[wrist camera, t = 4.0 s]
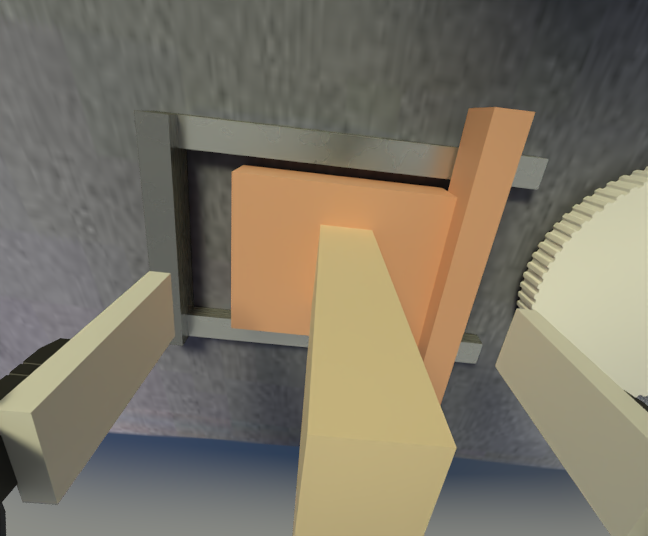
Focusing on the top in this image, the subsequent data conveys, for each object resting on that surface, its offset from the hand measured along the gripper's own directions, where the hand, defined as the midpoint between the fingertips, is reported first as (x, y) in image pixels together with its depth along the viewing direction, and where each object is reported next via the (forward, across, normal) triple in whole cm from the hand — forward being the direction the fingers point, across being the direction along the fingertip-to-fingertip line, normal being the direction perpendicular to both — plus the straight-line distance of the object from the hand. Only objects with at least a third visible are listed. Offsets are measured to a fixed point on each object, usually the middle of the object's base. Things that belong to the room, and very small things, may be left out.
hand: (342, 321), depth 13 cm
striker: (+7, +1, 0) cm, 7 cm away
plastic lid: (+8, +18, 0) cm, 19 cm away
